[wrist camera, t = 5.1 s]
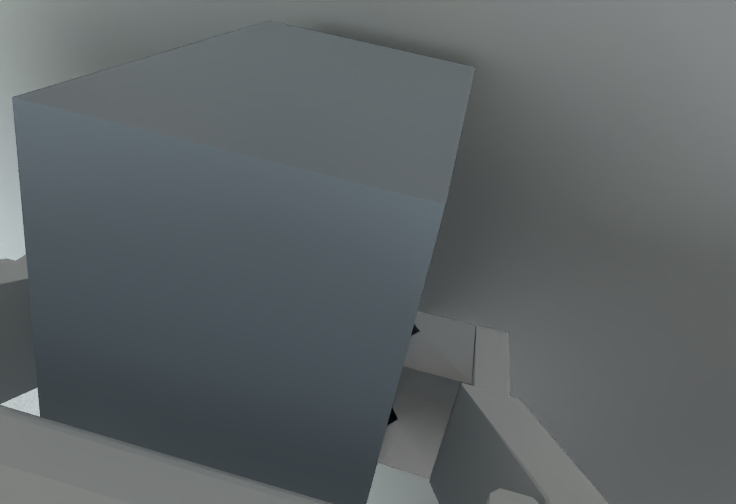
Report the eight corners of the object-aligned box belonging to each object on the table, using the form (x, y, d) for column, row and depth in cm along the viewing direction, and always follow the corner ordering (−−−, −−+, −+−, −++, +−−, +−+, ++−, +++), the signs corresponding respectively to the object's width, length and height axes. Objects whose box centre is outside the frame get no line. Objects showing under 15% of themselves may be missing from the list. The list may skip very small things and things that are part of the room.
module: (475, 66, 11) (446, 204, 5) (393, 383, 15) (316, 690, 9) (269, 20, 12) (12, 97, 6) (236, 340, 15) (56, 605, 9)
